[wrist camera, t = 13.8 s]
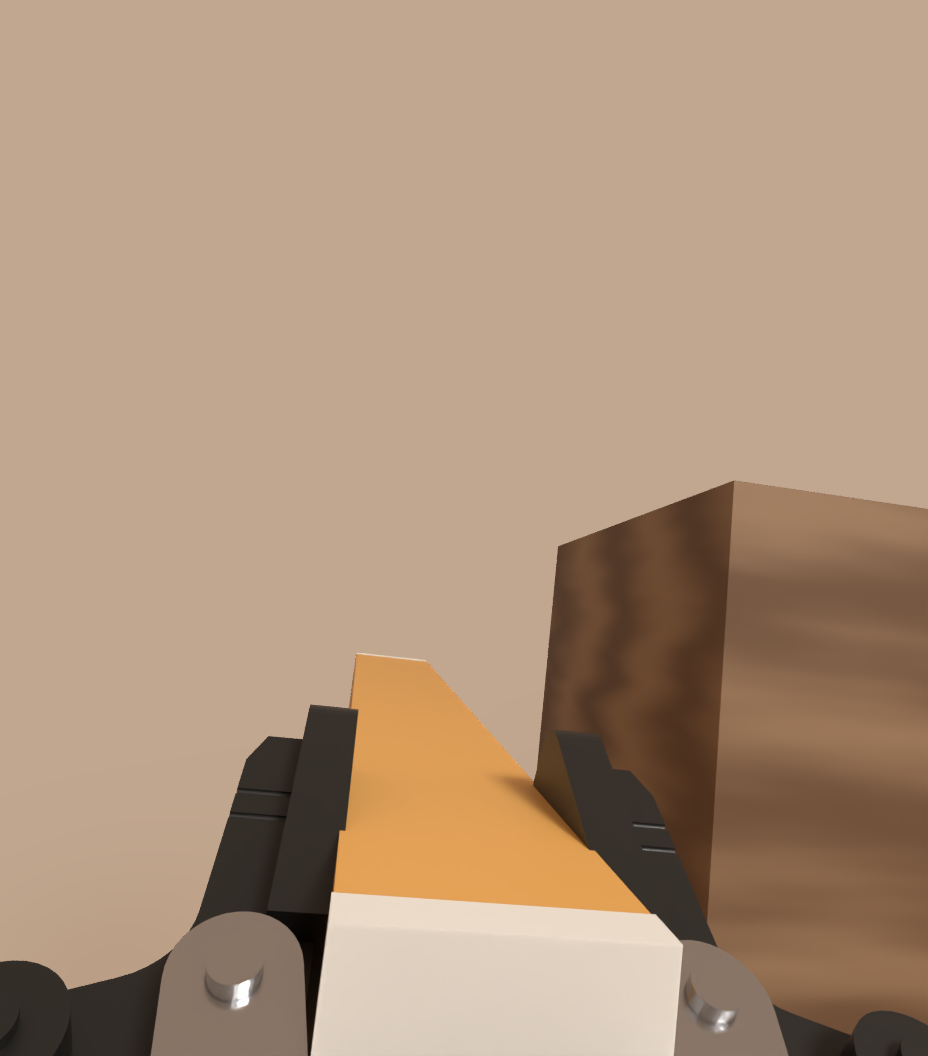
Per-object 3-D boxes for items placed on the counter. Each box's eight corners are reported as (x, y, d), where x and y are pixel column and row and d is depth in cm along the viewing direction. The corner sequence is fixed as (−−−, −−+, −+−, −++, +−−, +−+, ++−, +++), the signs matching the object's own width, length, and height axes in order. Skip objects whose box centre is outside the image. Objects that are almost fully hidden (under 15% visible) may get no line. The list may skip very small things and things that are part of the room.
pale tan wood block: (650, 1331, 6) (683, 944, 6) (274, 1332, 6) (328, 922, 6) (417, 730, 32) (426, 660, 32) (347, 723, 31) (356, 652, 32)
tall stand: (1109, 2116, 15) (1093, 510, 19) (629, 2196, 13) (735, 456, 18) (719, 1340, 30) (762, 560, 35) (482, 1342, 29) (559, 533, 34)
